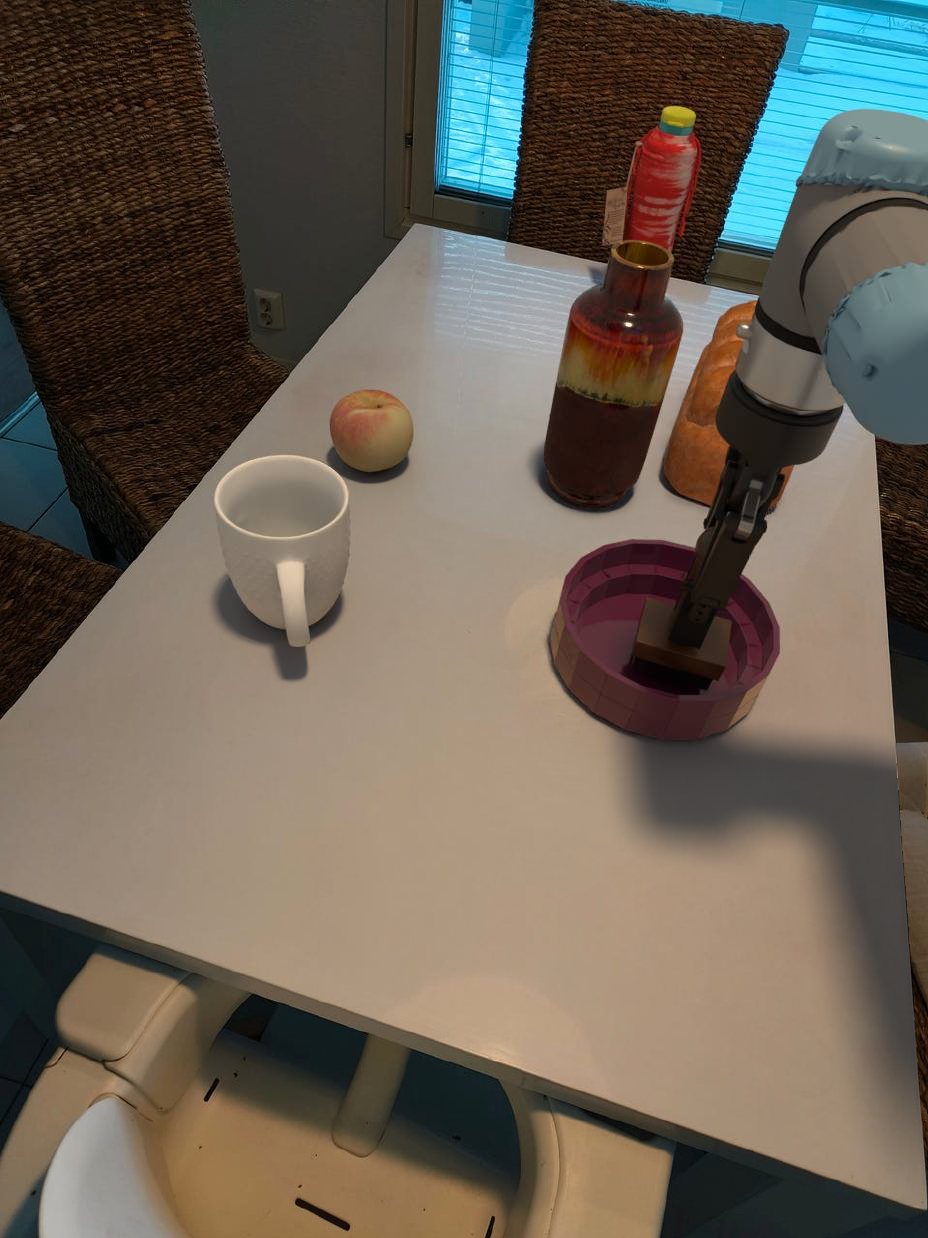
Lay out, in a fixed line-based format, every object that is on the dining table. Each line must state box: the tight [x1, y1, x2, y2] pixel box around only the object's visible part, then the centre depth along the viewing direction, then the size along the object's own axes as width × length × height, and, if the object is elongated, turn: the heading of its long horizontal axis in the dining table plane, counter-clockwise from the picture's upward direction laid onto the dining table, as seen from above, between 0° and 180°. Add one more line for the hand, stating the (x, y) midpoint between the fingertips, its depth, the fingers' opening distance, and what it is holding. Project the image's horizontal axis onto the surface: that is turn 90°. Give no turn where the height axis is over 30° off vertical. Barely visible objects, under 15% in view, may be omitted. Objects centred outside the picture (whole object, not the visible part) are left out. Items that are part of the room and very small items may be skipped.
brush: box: [631, 526, 732, 691], centre depth 70 cm, size 8×6×15 cm
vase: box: [542, 240, 684, 509], centre depth 86 cm, size 11×11×26 cm
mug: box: [213, 454, 351, 648], centre depth 73 cm, size 15×11×13 cm
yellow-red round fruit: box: [329, 389, 414, 473], centre depth 92 cm, size 9×9×8 cm
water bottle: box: [601, 105, 702, 254], centre depth 120 cm, size 12×8×25 cm, turn 74°
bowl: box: [549, 538, 781, 740], centre depth 76 cm, size 19×19×6 cm
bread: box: [663, 299, 795, 509], centre depth 98 cm, size 14×26×16 cm, turn 160°
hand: (687, 626), depth 72 cm, fingers closed on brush, 3 cm apart
